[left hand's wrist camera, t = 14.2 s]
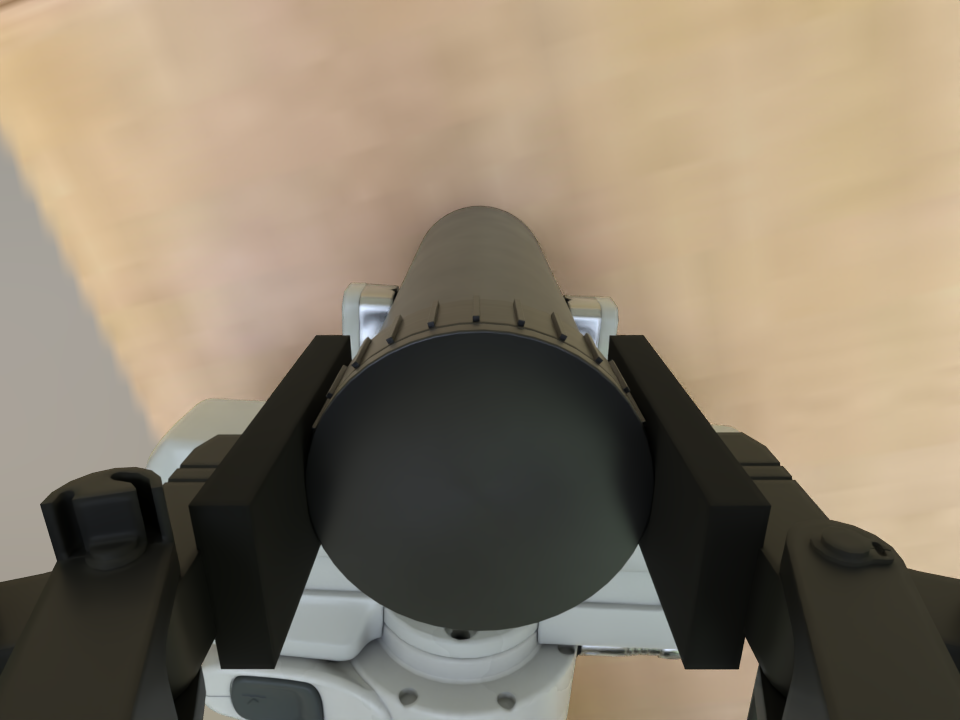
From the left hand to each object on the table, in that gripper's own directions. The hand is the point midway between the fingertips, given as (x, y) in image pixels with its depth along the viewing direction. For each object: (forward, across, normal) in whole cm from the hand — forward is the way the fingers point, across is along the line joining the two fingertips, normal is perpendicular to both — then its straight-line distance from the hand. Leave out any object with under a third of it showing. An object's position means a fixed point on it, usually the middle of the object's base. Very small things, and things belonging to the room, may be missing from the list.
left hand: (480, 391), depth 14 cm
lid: (-4, 0, 0) cm, 4 cm away
